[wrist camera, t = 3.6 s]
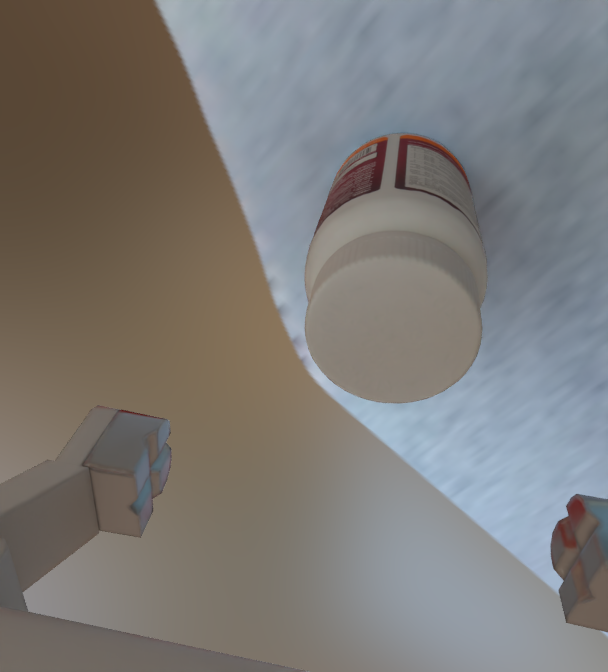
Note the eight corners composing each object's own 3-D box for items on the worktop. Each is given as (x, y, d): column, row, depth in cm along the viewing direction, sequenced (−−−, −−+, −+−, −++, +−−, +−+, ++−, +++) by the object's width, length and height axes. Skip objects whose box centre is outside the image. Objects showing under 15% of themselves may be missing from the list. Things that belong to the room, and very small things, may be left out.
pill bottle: (335, 261, 28) (295, 414, 19) (327, 132, 25) (272, 241, 15) (466, 260, 27) (490, 423, 18) (476, 124, 24) (513, 238, 14)
